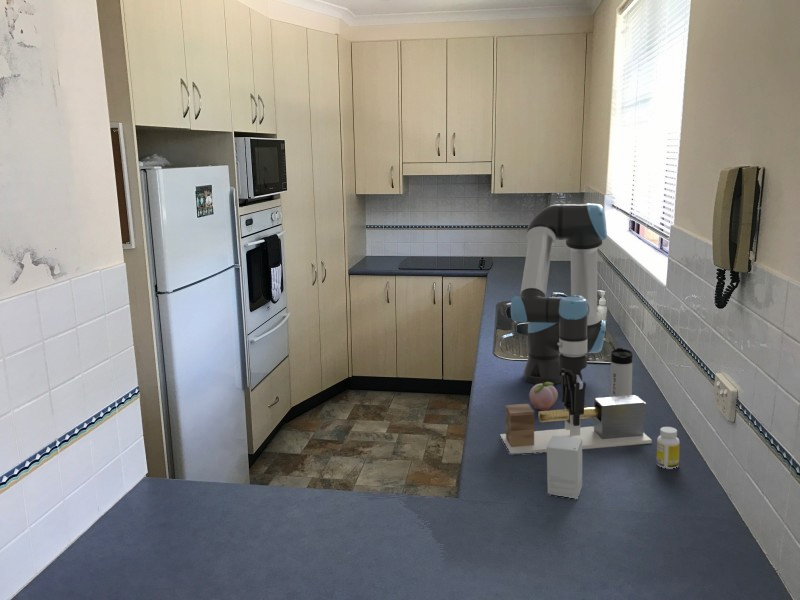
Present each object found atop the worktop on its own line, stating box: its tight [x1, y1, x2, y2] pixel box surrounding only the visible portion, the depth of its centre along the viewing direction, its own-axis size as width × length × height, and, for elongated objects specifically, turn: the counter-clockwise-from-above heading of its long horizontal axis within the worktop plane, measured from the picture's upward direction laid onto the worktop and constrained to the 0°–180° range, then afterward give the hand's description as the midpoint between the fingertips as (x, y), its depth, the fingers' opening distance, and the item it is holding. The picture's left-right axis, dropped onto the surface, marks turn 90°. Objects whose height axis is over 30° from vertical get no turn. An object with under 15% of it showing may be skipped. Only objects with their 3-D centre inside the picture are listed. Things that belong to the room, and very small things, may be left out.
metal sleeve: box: [593, 394, 647, 439], centre depth 186 cm, size 6×13×10 cm, turn 95°
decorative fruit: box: [528, 381, 559, 411], centre depth 207 cm, size 9×8×10 cm
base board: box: [499, 425, 653, 454], centre depth 186 cm, size 12×40×1 cm, turn 95°
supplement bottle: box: [656, 426, 681, 470], centre depth 168 cm, size 5×5×10 cm
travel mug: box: [609, 347, 633, 397], centre depth 202 cm, size 6×7×20 cm
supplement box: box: [546, 435, 583, 500], centre depth 157 cm, size 7×7×13 cm
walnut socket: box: [505, 403, 535, 447], centre depth 183 cm, size 6×6×10 cm
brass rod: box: [537, 405, 601, 424], centre depth 184 cm, size 4×26×4 cm, turn 95°
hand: (572, 431), depth 185 cm, fingers closed on brass rod, 3 cm apart
